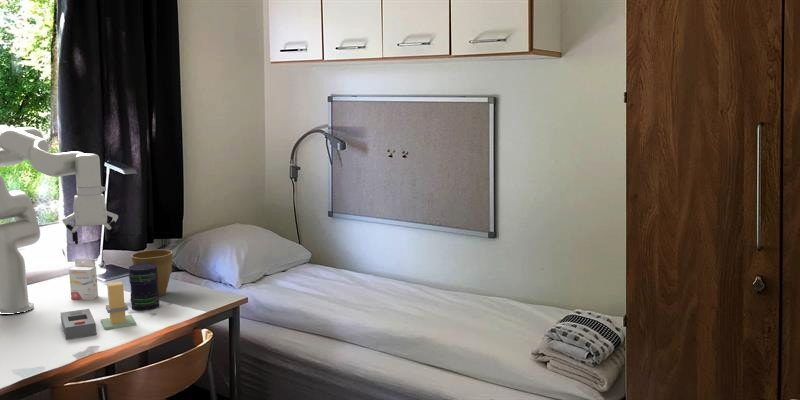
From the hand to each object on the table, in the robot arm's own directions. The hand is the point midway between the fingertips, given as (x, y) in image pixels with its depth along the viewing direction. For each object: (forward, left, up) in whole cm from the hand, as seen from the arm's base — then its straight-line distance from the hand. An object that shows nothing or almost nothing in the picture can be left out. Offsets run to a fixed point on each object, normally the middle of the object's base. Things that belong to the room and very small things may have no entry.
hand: (91, 242), depth 261 cm
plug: (+5, +6, -27) cm, 28 cm away
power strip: (+5, -7, -28) cm, 29 cm away
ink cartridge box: (-34, -1, -28) cm, 44 cm away
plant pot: (-25, +23, -28) cm, 44 cm away
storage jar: (-10, +17, -28) cm, 34 cm away
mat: (+5, +6, -28) cm, 29 cm away
